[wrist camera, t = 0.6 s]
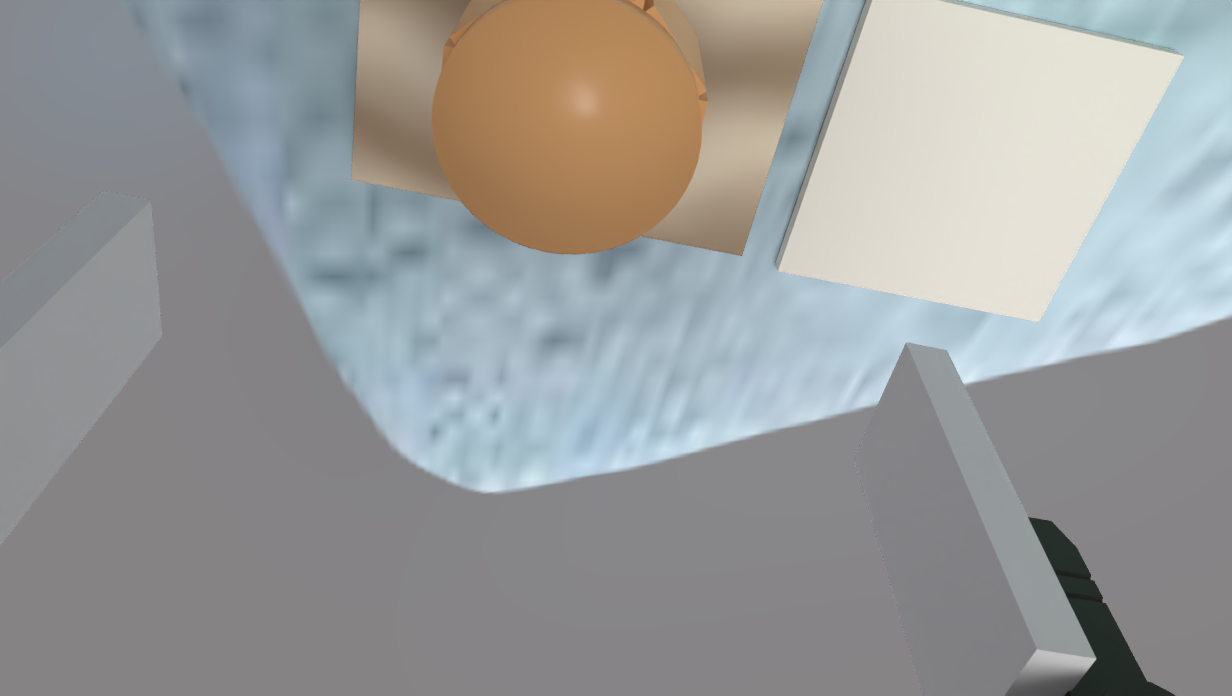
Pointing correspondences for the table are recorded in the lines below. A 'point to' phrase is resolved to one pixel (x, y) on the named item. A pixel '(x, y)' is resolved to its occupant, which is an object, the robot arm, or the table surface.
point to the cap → (570, 118)
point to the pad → (969, 153)
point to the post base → (731, 130)
